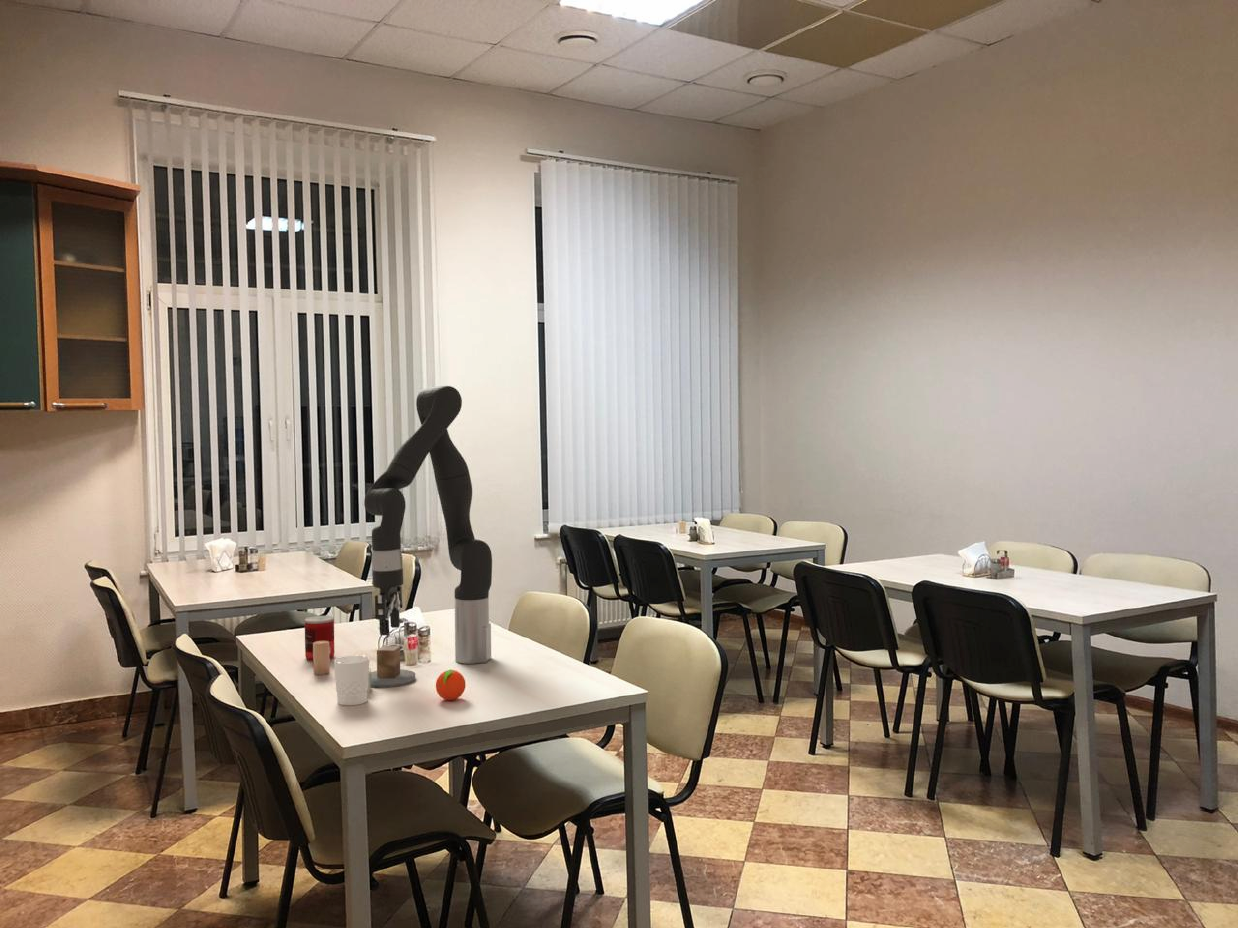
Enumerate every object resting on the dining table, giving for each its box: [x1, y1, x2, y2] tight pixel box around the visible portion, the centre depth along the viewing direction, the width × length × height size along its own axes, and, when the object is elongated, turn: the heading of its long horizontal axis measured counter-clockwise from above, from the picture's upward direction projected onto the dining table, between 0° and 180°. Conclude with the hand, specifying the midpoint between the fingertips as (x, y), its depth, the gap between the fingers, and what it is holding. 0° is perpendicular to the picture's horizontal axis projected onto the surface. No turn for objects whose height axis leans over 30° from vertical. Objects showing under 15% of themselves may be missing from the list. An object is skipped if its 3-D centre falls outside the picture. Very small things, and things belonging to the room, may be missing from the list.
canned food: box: [304, 615, 335, 662], centre depth 269 cm, size 8×8×11 cm
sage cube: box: [368, 667, 372, 695], centre depth 235 cm, size 5×5×5 cm
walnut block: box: [376, 645, 401, 678], centre depth 244 cm, size 4×4×7 cm
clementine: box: [435, 669, 467, 701], centre depth 227 cm, size 8×7×7 cm
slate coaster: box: [371, 668, 416, 688], centre depth 245 cm, size 13×13×1 cm
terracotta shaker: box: [312, 641, 331, 676], centre depth 252 cm, size 4×4×8 cm
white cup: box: [333, 654, 370, 706], centre depth 226 cm, size 8×8×10 cm
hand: (390, 631), depth 244 cm, fingers open, 8 cm apart
